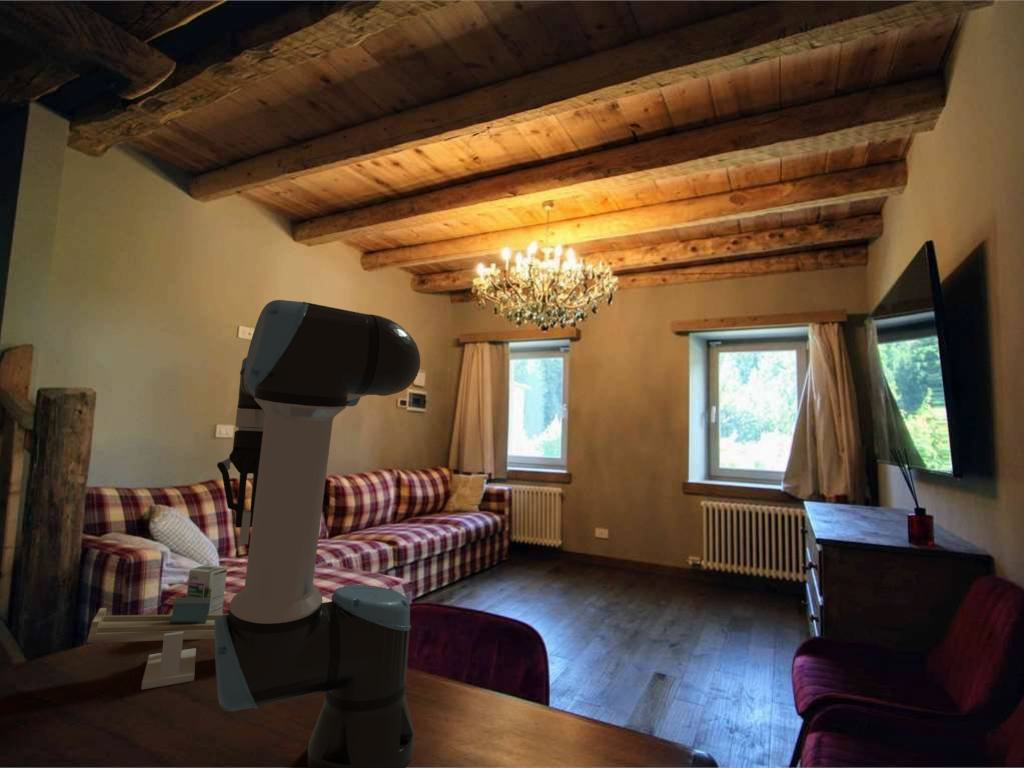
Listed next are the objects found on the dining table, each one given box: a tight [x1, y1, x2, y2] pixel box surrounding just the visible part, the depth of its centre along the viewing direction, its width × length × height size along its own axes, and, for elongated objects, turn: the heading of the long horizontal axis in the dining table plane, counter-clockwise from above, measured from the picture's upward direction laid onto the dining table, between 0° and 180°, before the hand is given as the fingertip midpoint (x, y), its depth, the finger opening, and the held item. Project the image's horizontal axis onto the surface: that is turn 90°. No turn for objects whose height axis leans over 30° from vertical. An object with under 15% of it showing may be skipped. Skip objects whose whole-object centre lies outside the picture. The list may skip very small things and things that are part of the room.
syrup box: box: [186, 564, 228, 614], centre depth 118 cm, size 6×6×14 cm
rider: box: [170, 596, 210, 625], centre depth 101 cm, size 4×6×4 cm, turn 121°
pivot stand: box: [141, 631, 197, 691], centre depth 99 cm, size 13×8×9 cm, turn 31°
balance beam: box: [86, 607, 229, 646], centre depth 99 cm, size 9×26×6 cm, turn 121°
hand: (243, 543), depth 107 cm, fingers closed
